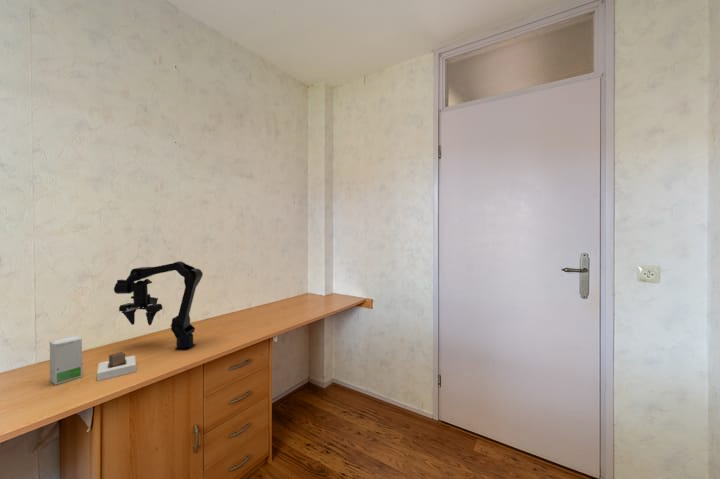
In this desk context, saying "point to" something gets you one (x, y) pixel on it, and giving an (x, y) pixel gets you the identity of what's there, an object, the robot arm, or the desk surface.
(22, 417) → the desk surface
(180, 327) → the robot arm
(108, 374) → the socket
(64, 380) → the skincare box
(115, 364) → the peg
